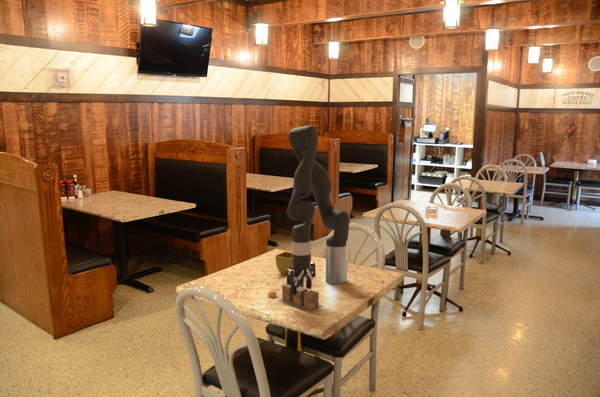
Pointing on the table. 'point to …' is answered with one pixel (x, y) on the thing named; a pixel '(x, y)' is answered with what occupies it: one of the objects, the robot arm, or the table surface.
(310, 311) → the slate board
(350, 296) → the table surface
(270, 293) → the ball
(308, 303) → the block
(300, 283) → the supplement bottle
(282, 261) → the flower pot
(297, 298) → the loose block
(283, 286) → the block
